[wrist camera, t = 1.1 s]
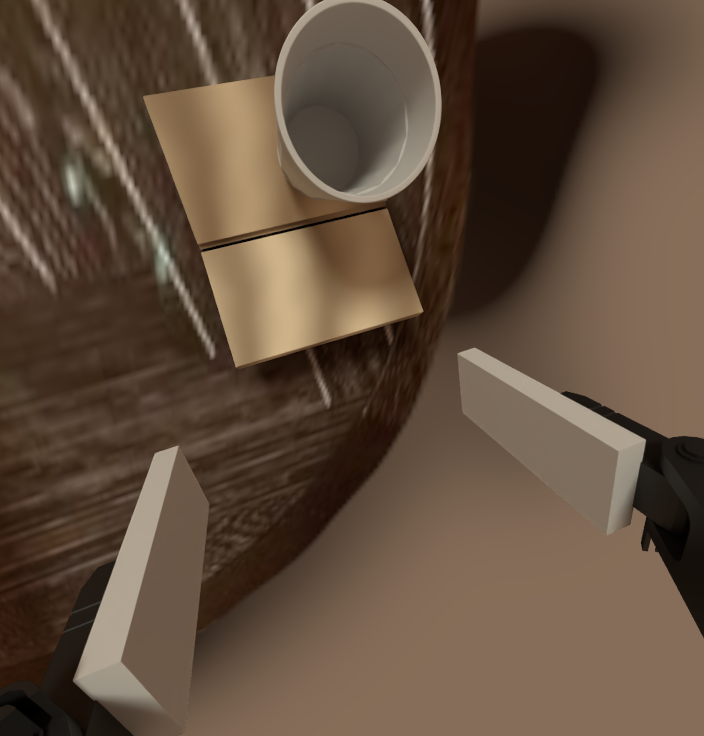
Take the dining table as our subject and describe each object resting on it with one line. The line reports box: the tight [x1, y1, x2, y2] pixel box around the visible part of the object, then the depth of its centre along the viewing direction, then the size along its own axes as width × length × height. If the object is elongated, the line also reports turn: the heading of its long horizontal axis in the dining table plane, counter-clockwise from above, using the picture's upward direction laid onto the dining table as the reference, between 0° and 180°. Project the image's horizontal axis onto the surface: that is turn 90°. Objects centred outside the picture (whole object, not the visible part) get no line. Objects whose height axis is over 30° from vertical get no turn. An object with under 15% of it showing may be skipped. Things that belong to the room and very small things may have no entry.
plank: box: [201, 209, 423, 369], centre depth 28 cm, size 15×9×1 cm, turn 102°
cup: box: [274, 0, 441, 203], centre depth 22 cm, size 8×8×12 cm
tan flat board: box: [143, 75, 387, 250], centre depth 26 cm, size 15×9×1 cm, turn 102°
